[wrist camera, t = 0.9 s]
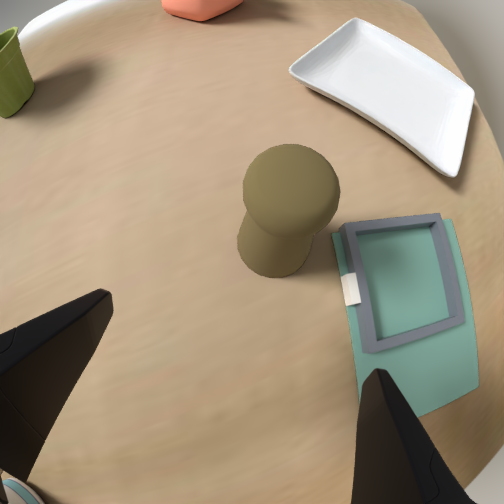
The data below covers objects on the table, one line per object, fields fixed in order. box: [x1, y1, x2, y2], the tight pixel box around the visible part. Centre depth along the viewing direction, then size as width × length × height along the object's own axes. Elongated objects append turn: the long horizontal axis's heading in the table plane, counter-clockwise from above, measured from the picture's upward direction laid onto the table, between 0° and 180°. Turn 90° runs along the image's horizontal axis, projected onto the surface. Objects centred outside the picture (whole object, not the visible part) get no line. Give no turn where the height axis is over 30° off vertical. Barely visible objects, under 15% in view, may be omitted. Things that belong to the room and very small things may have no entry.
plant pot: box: [0, 27, 34, 118], centre depth 24 cm, size 12×12×11 cm
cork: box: [237, 144, 340, 278], centre depth 19 cm, size 6×6×11 cm
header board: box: [331, 213, 479, 418], centre depth 22 cm, size 18×14×2 cm
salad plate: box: [289, 18, 475, 178], centre depth 29 cm, size 21×21×3 cm
